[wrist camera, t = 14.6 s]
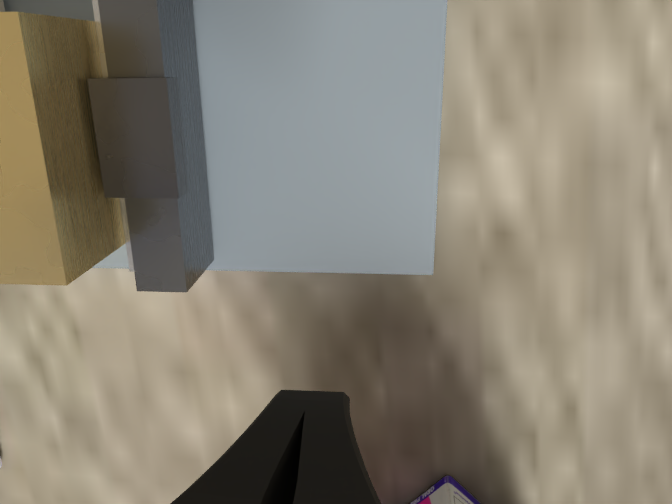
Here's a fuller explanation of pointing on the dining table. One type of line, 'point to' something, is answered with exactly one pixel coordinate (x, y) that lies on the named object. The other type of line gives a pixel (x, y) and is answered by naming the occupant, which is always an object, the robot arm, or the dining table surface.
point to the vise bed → (314, 131)
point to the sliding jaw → (153, 138)
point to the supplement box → (446, 493)
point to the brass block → (51, 153)
